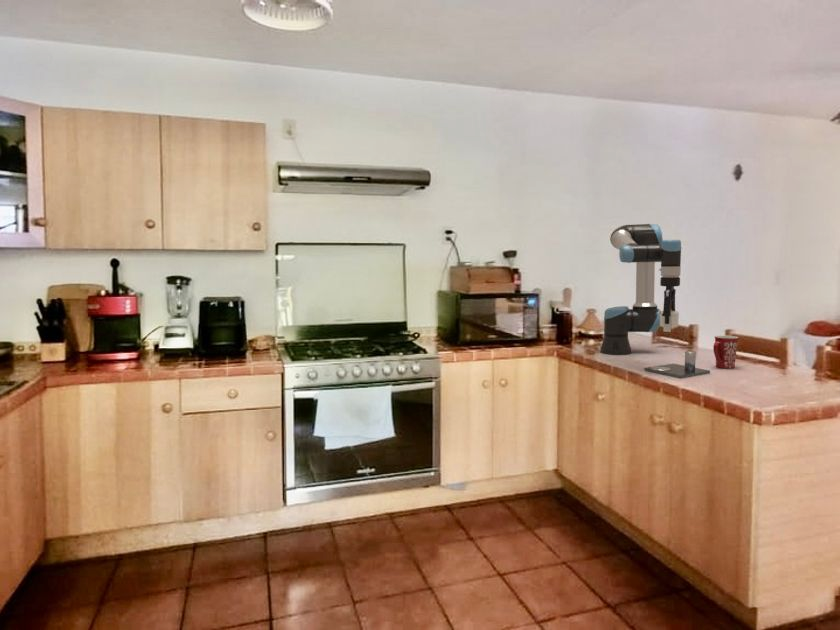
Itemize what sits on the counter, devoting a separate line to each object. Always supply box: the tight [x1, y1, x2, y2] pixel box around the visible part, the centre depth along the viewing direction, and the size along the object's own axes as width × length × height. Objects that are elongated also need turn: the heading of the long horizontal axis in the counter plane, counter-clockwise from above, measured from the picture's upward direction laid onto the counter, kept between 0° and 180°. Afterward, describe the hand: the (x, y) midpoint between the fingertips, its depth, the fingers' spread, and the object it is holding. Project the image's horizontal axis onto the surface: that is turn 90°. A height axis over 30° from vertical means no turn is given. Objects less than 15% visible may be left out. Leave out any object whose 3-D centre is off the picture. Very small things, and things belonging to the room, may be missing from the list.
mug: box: [712, 334, 739, 369], centre depth 242 cm, size 13×9×14 cm
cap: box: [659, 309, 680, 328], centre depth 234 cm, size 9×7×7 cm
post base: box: [644, 350, 711, 379], centre depth 235 cm, size 18×18×9 cm
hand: (668, 330), depth 235 cm, fingers closed on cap, 9 cm apart
